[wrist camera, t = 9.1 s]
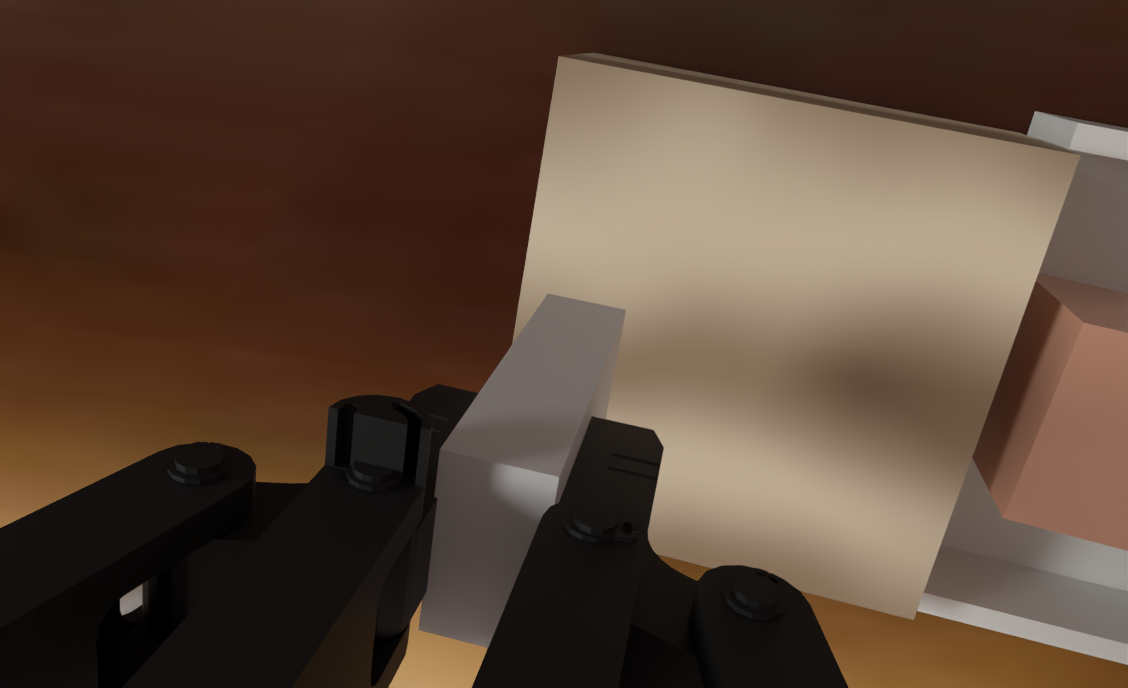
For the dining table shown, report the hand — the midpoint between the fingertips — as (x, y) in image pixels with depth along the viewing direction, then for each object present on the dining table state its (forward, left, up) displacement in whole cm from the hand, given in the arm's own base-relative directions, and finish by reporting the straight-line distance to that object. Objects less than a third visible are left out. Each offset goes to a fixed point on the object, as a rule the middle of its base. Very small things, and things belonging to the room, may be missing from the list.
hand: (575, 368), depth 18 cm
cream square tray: (+1, +3, -11) cm, 11 cm away
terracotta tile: (+1, +10, -8) cm, 13 cm away
